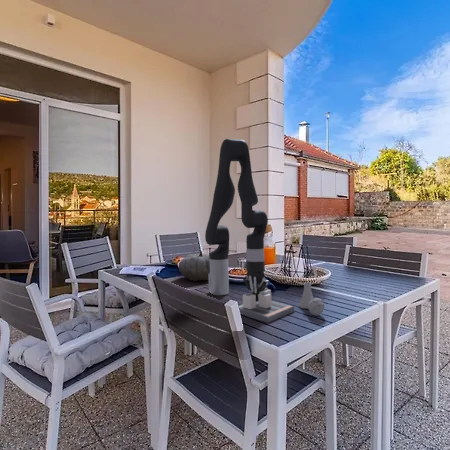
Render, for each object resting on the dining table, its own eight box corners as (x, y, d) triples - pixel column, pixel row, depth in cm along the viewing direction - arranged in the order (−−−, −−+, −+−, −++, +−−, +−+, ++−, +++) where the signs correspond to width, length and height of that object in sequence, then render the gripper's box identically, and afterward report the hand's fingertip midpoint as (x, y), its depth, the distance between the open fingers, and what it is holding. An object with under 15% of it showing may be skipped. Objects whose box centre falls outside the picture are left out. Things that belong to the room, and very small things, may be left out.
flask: (319, 306, 135) (319, 283, 135) (311, 311, 130) (311, 286, 129) (303, 303, 140) (303, 280, 139) (295, 307, 135) (295, 283, 134)
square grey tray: (234, 312, 130) (234, 307, 130) (261, 302, 142) (261, 298, 142) (267, 322, 118) (267, 317, 118) (294, 311, 130) (294, 306, 130)
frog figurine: (312, 319, 120) (312, 301, 120) (304, 313, 127) (304, 295, 127) (327, 318, 122) (327, 299, 121) (319, 312, 128) (319, 294, 128)
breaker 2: (258, 301, 136) (258, 288, 136) (263, 299, 138) (263, 287, 138) (266, 303, 133) (266, 290, 133) (271, 301, 135) (270, 288, 135)
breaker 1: (242, 307, 129) (242, 293, 129) (248, 305, 131) (247, 291, 131) (250, 309, 126) (250, 295, 126) (255, 307, 128) (255, 293, 128)
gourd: (186, 282, 171) (186, 249, 174) (171, 280, 193) (172, 251, 196) (228, 281, 182) (227, 250, 185) (209, 279, 204) (209, 252, 207)
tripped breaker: (258, 306, 130) (258, 292, 129) (263, 304, 132) (263, 291, 132) (266, 308, 127) (266, 294, 126) (271, 306, 129) (271, 292, 129)
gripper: (237, 258, 134) (238, 299, 135) (262, 262, 124) (262, 306, 125) (249, 256, 139) (249, 296, 140) (274, 259, 129) (274, 302, 130)
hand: (256, 301), depth 133 cm, fingers closed
